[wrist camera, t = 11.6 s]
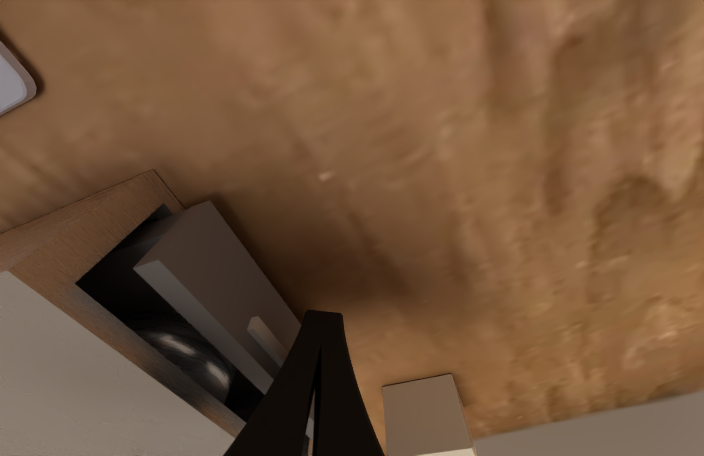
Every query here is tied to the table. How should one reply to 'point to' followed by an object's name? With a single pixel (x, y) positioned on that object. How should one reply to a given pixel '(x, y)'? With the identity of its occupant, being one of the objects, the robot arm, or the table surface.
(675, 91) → the table surface
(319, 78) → the table surface
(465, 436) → the riser block
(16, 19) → the table surface
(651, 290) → the table surface
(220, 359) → the disc
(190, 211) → the tray
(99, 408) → the box
